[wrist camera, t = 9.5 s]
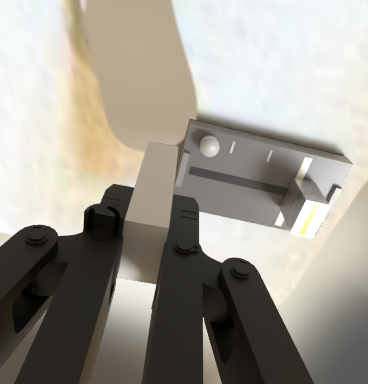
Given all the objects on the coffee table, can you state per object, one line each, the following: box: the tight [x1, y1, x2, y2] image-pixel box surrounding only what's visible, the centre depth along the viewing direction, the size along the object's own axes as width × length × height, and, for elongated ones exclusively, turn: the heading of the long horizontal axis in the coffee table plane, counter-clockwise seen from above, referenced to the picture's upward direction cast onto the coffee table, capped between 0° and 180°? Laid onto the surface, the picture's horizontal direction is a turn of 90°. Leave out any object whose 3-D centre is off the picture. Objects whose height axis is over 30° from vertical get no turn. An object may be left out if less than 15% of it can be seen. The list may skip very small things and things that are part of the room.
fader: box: [280, 177, 330, 238], centre depth 45 cm, size 5×3×6 cm, turn 167°
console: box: [173, 119, 353, 236], centre depth 47 cm, size 12×22×4 cm, turn 76°
